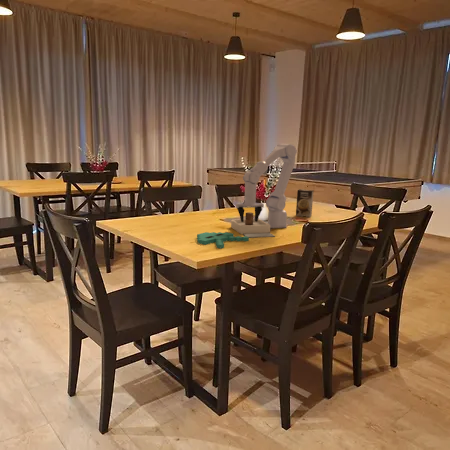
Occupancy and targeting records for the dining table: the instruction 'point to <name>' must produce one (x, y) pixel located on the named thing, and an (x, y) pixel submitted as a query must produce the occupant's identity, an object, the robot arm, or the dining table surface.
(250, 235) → the slate mat
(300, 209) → the coffee box
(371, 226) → the dining table surface
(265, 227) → the open box
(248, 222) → the walnut cylinder
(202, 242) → the alien figure
